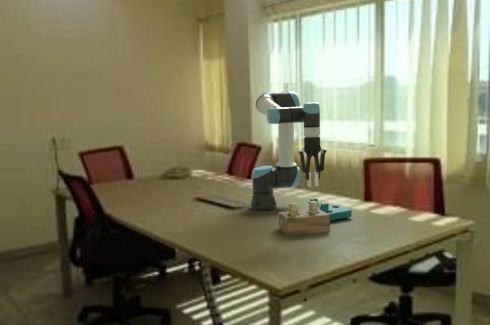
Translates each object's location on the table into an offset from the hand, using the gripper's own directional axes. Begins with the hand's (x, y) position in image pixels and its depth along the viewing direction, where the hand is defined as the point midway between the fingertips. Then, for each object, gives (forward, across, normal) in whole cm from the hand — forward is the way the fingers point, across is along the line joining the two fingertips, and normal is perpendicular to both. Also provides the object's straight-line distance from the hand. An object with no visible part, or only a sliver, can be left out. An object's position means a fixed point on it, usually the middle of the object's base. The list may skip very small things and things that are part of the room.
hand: (313, 186), depth 247 cm
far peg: (+16, 0, 0) cm, 16 cm away
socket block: (+21, -5, 0) cm, 21 cm away
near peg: (+16, -10, 0) cm, 18 cm away
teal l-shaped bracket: (+21, +15, +15) cm, 30 cm away
